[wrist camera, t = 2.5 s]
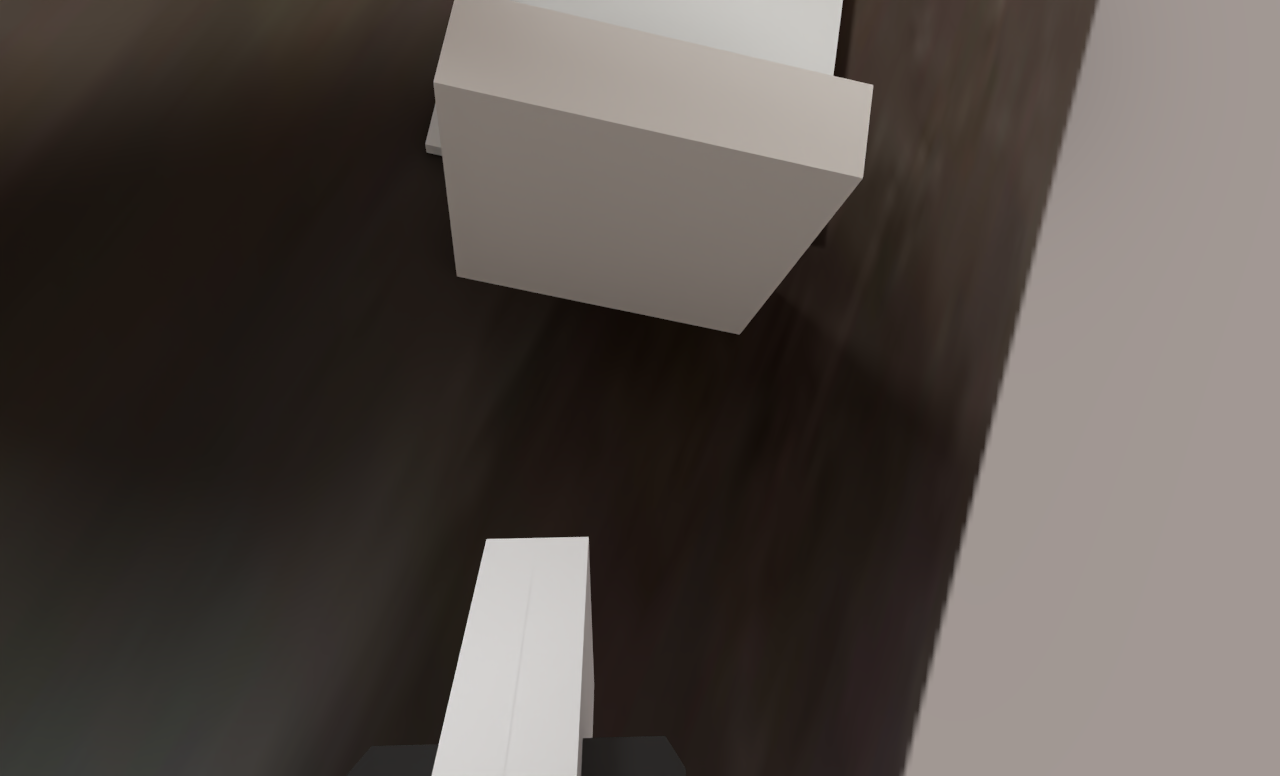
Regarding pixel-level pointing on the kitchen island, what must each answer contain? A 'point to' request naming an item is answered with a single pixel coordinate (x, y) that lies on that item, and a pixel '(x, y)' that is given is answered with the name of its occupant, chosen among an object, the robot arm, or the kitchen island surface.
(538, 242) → the tile
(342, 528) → the kitchen island surface
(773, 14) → the mat
